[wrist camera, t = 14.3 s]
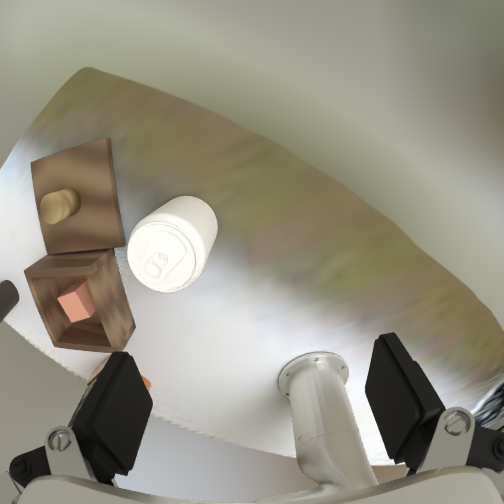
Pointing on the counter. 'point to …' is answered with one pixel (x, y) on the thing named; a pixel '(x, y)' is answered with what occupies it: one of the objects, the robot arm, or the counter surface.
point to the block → (78, 301)
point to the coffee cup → (7, 298)
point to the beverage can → (172, 244)
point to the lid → (78, 199)
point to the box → (103, 291)
